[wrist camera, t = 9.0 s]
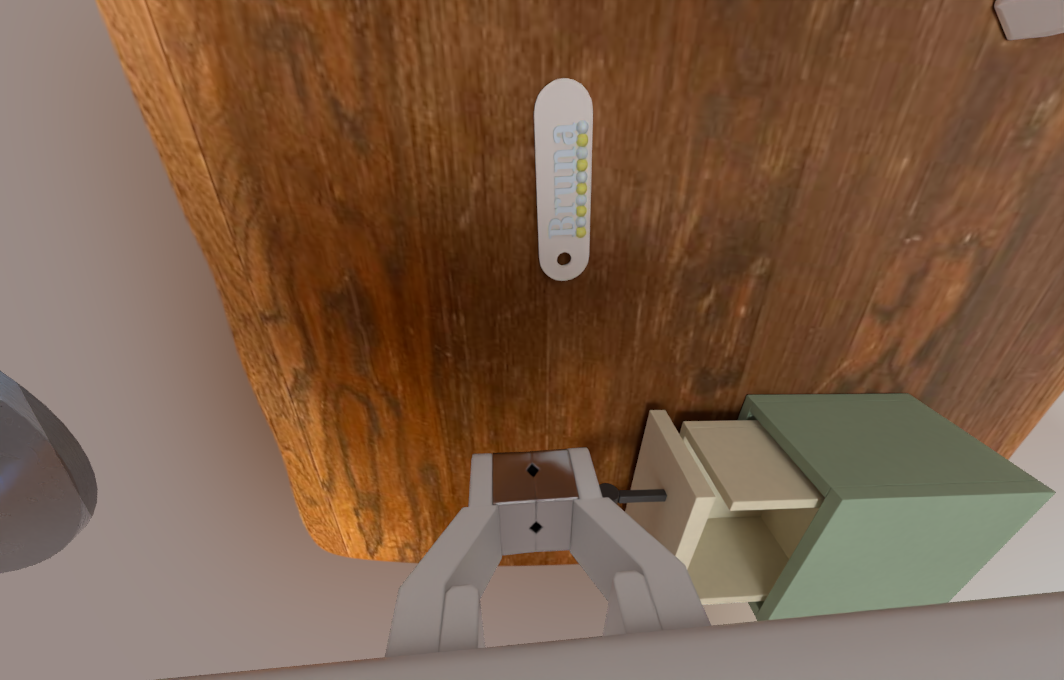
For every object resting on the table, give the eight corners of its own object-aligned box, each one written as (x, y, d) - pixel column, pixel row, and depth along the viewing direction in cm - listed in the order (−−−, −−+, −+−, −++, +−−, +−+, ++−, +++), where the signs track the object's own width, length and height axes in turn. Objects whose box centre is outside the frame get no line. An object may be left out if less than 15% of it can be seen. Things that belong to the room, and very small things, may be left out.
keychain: (589, 280, 25) (540, 284, 24) (587, 277, 25) (539, 280, 25) (595, 76, 19) (533, 78, 19) (592, 77, 20) (532, 80, 20)
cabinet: (701, 513, 38) (762, 630, 29) (746, 394, 31) (842, 500, 22) (836, 508, 39) (933, 618, 30) (908, 393, 32) (1057, 492, 24)
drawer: (569, 523, 35) (587, 622, 28) (586, 410, 29) (615, 500, 22) (755, 516, 37) (815, 607, 30) (807, 407, 31) (897, 491, 24)
